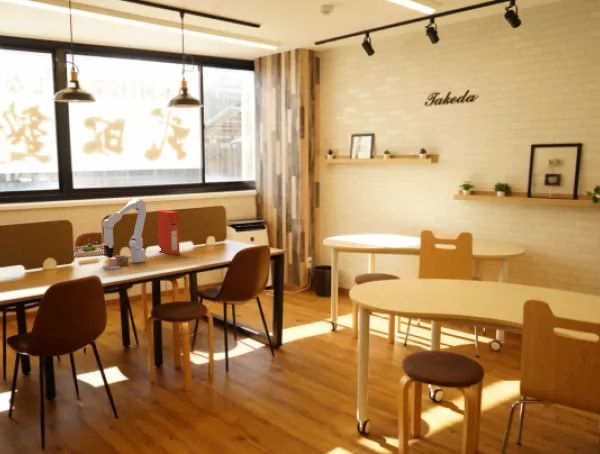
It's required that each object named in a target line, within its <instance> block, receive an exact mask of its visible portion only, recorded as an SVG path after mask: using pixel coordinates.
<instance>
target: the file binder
mask: <svg viewBox="0 0 600 454" xmlns="http://www.w3.org/2000/svg"><path fill="white" fill-rule="evenodd" d="M179 220H180V219H179V212H178V211H174V210H169V209H163V210H157V234H158V248H159V247H160V248H161V251H162V252H163V254H167V255H170V256H173V255H177V254H180V225H179V224H180V223H179V222H180V221H179ZM162 252H161V253H162Z"/></svg>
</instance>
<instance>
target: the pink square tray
mask: <svg viewBox="0 0 600 454" xmlns="http://www.w3.org/2000/svg"><path fill="white" fill-rule="evenodd" d="M96 245H97V247H99V248H102V247H103V244H100V245H98V244H96ZM84 246H86V245H84ZM84 246H83V245H82V246H73V247H74V249H75V257H74V258H79V257H91V256H92V257H93V256H103V255H102V254H103V251H91V252H78V253H76V252H77V250H78V249H85V247H84ZM86 247H87V246H86Z"/></svg>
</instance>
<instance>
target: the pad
mask: <svg viewBox="0 0 600 454" xmlns="http://www.w3.org/2000/svg"><path fill="white" fill-rule="evenodd" d="M102 268H103V270H104V271H112V269H114V270H122V267H121V266H119V265H113V266H108V265H105V266H102Z"/></svg>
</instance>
